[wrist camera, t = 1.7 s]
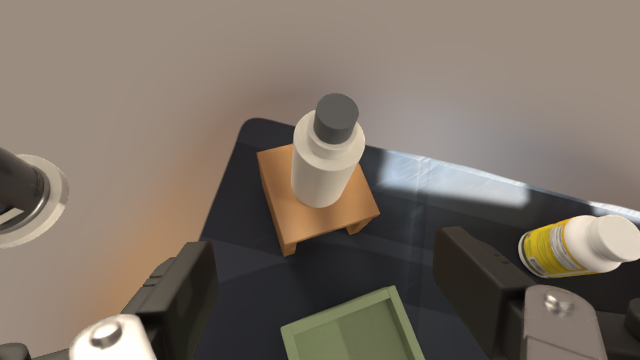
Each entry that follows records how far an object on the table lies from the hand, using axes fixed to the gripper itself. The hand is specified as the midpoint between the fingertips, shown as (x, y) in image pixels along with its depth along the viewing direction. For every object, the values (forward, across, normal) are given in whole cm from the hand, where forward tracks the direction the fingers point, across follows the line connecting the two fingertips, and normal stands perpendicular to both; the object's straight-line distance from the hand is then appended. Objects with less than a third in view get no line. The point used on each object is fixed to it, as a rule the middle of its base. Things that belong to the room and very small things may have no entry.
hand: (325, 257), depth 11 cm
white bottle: (+20, -1, +3) cm, 20 cm away
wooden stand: (+27, 0, +9) cm, 29 cm away
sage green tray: (+16, -4, +23) cm, 28 cm away
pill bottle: (+25, -30, +16) cm, 42 cm away
